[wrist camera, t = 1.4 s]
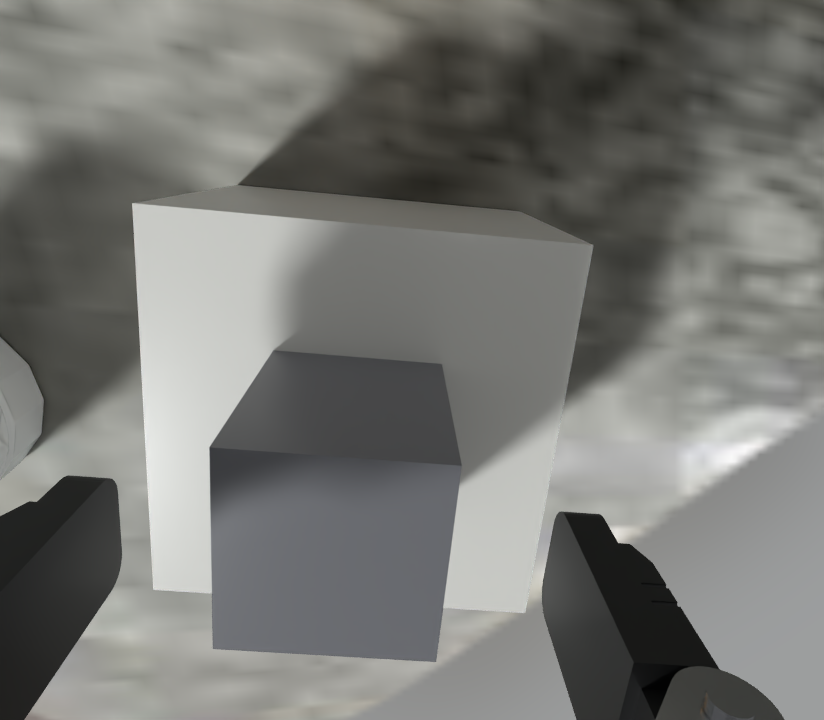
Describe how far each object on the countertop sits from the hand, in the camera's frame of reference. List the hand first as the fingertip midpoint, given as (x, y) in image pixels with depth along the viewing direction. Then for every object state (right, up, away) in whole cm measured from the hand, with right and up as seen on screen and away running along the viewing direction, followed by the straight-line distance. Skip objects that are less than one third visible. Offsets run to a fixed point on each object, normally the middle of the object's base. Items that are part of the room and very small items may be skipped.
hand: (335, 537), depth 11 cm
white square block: (0, +4, +12) cm, 13 cm away
